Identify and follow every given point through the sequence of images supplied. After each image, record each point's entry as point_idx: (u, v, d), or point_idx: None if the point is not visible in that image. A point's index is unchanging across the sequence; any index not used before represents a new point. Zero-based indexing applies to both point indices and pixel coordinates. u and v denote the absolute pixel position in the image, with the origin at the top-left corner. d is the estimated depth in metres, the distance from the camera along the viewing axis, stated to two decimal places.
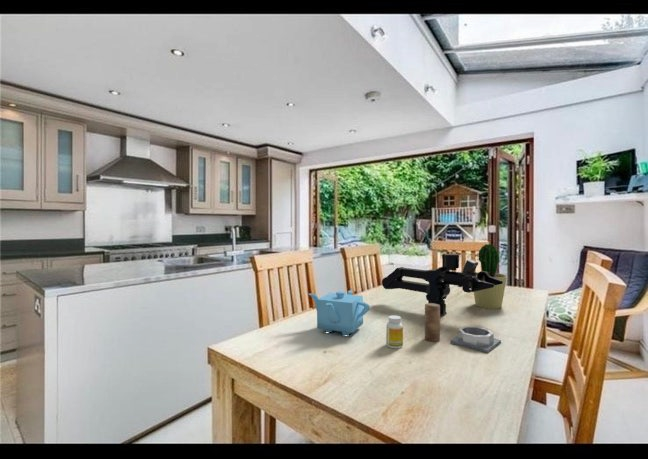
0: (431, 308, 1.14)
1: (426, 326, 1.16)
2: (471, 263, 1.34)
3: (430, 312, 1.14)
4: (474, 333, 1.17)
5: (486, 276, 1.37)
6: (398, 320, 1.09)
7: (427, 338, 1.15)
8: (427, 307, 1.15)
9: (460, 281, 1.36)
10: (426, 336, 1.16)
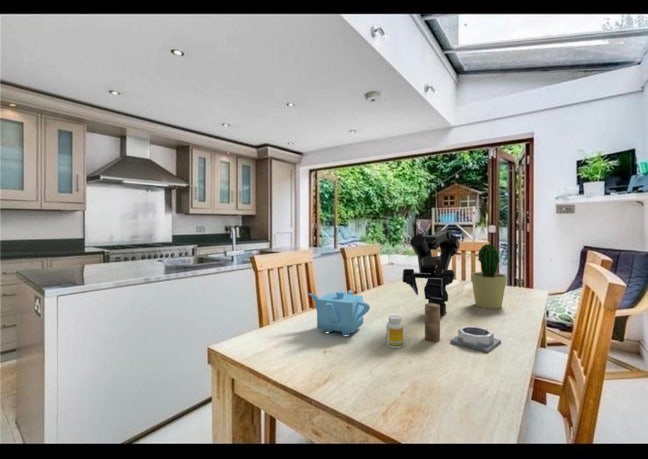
0: (431, 308, 1.14)
1: (426, 326, 1.16)
2: (423, 262, 1.25)
3: (430, 312, 1.14)
4: (474, 333, 1.17)
5: (442, 278, 1.26)
6: (398, 320, 1.09)
7: (427, 338, 1.15)
8: (427, 307, 1.15)
9: None
10: (426, 336, 1.16)
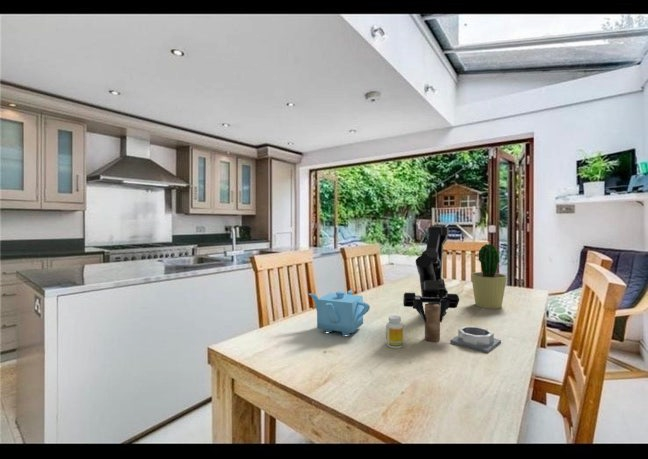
0: (431, 308, 1.14)
1: (426, 326, 1.16)
2: (425, 286, 1.16)
3: (430, 312, 1.14)
4: (474, 333, 1.17)
5: (440, 303, 1.18)
6: (398, 320, 1.09)
7: (427, 338, 1.15)
8: (427, 307, 1.15)
9: None
10: (426, 336, 1.16)
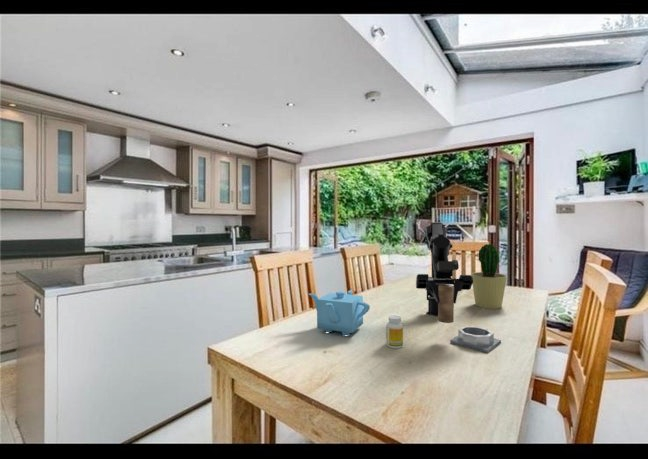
0: (445, 289, 1.12)
1: (440, 307, 1.14)
2: (439, 267, 1.15)
3: (443, 293, 1.13)
4: (474, 333, 1.17)
5: (454, 284, 1.16)
6: (398, 320, 1.09)
7: (441, 319, 1.14)
8: (441, 288, 1.13)
9: (433, 270, 1.23)
10: (439, 317, 1.14)
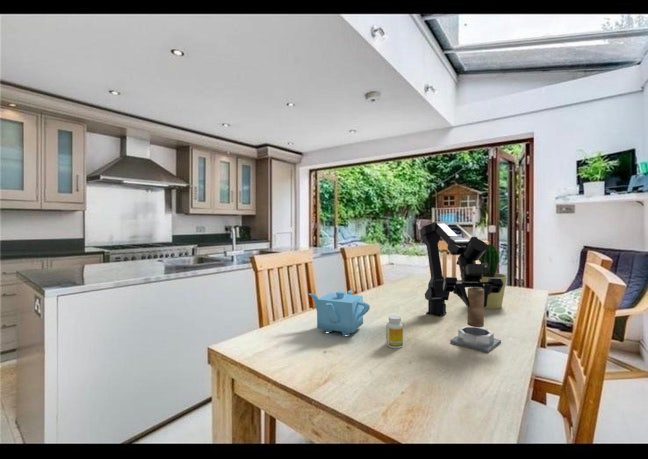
0: (476, 292, 1.10)
1: (470, 311, 1.12)
2: (468, 270, 1.12)
3: (474, 297, 1.10)
4: (474, 333, 1.17)
5: (484, 288, 1.14)
6: (398, 320, 1.09)
7: (471, 323, 1.11)
8: (471, 291, 1.11)
9: None
10: (469, 321, 1.12)
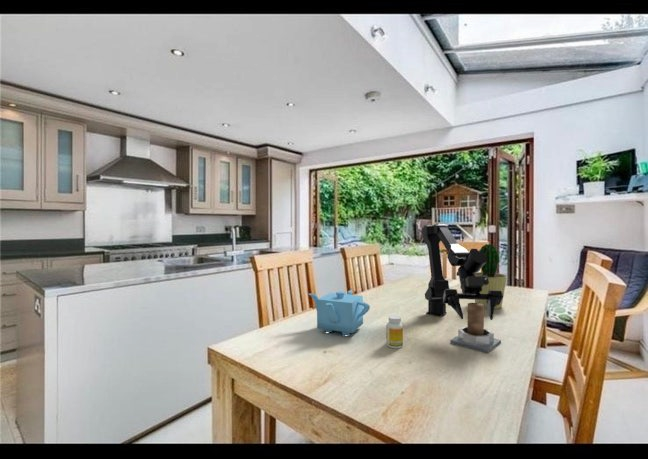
0: (475, 308, 1.10)
1: (469, 326, 1.12)
2: (468, 282, 1.13)
3: (474, 312, 1.10)
4: None
5: (490, 300, 1.13)
6: (398, 320, 1.09)
7: None
8: (471, 307, 1.11)
9: None
10: None
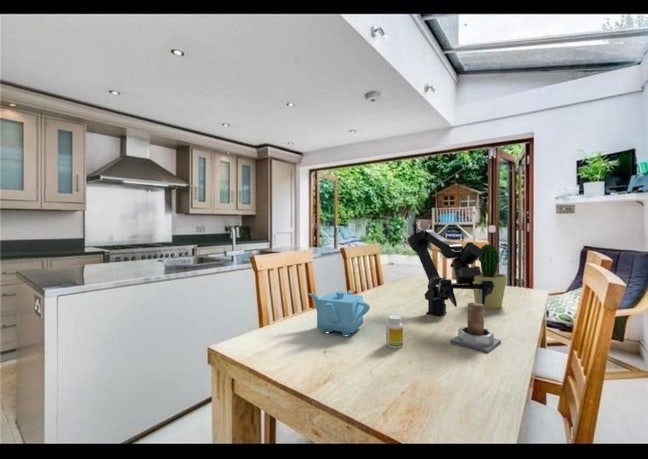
0: (475, 308, 1.10)
1: (469, 326, 1.12)
2: (462, 273, 1.21)
3: (474, 312, 1.10)
4: None
5: (481, 289, 1.22)
6: (398, 320, 1.09)
7: None
8: (471, 307, 1.11)
9: (455, 276, 1.30)
10: None
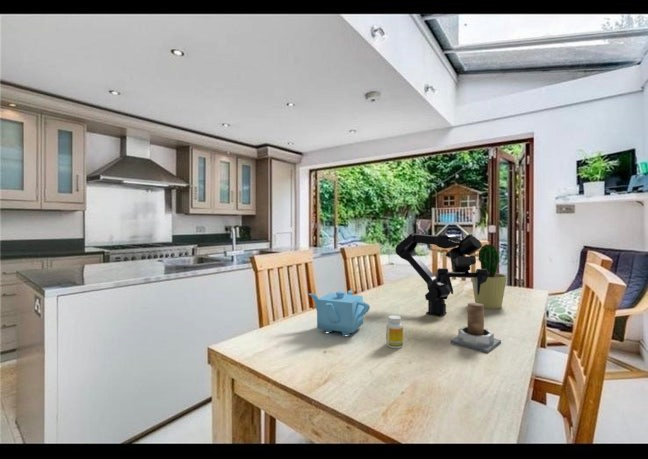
0: (475, 308, 1.10)
1: (469, 326, 1.12)
2: (458, 262, 1.27)
3: (474, 312, 1.10)
4: None
5: (477, 277, 1.28)
6: (398, 320, 1.09)
7: None
8: (471, 307, 1.11)
9: None
10: None
